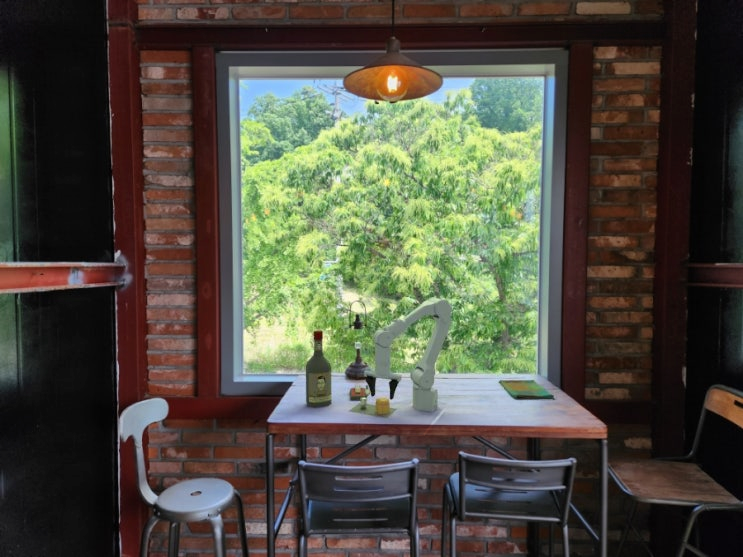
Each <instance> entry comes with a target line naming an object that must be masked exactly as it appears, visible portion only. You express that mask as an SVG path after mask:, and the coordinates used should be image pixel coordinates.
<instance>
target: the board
mask: <svg viewBox="0 0 743 557" xmlns="http://www.w3.org/2000/svg"><path fill="white" fill-rule="evenodd" d="M397 409H398V408H394V407H390V412H389V413H387V414H378V413H376V404H370V403H367V409H364V410H363V409H360V402H359V403H357V404H356V405H355V406H353V407H352V408H351V409H349V410H348V412H351V413H357V414H362V415H368V416H373V417H378V418H386V419H388V418H389V417H390V416H391V415H393V413H395V411H397Z"/></svg>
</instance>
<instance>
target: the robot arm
mask: <svg viewBox="0 0 743 557" xmlns="http://www.w3.org/2000/svg"><path fill="white" fill-rule="evenodd" d="M452 310H453V308H452V306H451V304H450V302H449V301H448V300H446V299H442V298H437V297H433V296H432V297H429V298H428V299H427V300H425V301H424V300H423V302H421V304H420V305H419V306H417V307H416V308H415V309H414V310H412V311H411V312H409V313H408V314H407V315H406V316H404V317H403V318H401V317H398V318H393V319H392V322H390V323H389V324H388V325H386V326H383V327H382V329H378V330H376V331H375V332H374V335H373V336H372V340H373V342H374V343H375V344H374V345H375V346H374V347H375V348H374V352H375V353H374V370H365V371H363V377H366V378H365V382H366V385H368V389H370V396H371V397H375V396H376V381H377V379H382V380H383V379H384V380H389V381H388V386H389V401H390V400H393V399H394V397H395V393H396V390H397V387H398V385H399V383H400V382H401V381H402V374H397V373H394V372H391V346H392V344H393V342H394V340H396V339H397V338H398V337H400V336H401V335H403V334H404V333H405V332H407V331H408V328H409V326H411V325H412V324H414V323H415V322H417V321H419V320H420V319H422V318H423V317H425V316H431V317H432V318H433V320H434V322H435V325H434V328H433V330H432V332H431V335H430V337H429V340H428V342H427V346H426V347H425V351H424V352H423V355H422V358H421V360H420V361H418V362H417V363H416V364H415V367H414V368H412V370H411V371H410V375H409V376H410V380H411V381H412V408H413V409H415V410H417V411H423V412H424V411H427V412H431V413H432V412H435V410H436V409H437V408H438V407H439V406H438V405H439V404H438V400H439V399H438V398H439V394H438V390H437V388H434V387H433V385H434V384H435V375H436V368H435V366H436V363H437V360H438V358H439V355H440V353H441V350H442V347H443V344H444V342H445V340H446V337H447V335H448V334H449V333H448V332H449V330H450V327H451V325H452V314H451V312H452Z"/></svg>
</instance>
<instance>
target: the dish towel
mask: <svg viewBox="0 0 743 557" xmlns="http://www.w3.org/2000/svg"><path fill="white" fill-rule="evenodd" d="M499 383H500V384H501V385H502V386H503V387H504V388H503V387H502V386H501V385H500V384H499ZM498 384H499V385H500V386H501V387H502V388H503V389H504V390H505V391H506V392H507V394H509V395H510V396H511V397H512V398H513V399H514V398H515V399H514V400H539V399H553V400H555V395H553V393H550V392H549V391H548V390H547V389H545V388H544V387H543V386H542V385H541V384H538V383H537V381H535V379H520V380H518V379H517V380H514V379H513V380H512V379H509V380H507V379H506V380H501V379H500V380H498Z"/></svg>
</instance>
